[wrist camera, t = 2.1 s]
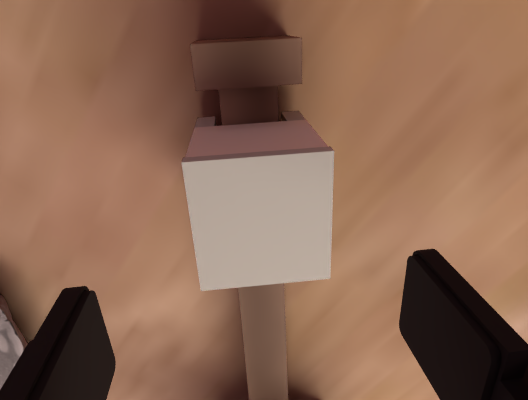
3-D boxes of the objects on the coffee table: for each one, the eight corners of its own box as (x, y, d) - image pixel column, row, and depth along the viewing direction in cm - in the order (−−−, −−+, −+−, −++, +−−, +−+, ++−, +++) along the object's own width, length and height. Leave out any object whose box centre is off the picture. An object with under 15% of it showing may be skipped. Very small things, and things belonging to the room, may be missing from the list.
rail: (287, 35, 21) (301, 37, 17) (295, 400, 34) (304, 452, 30) (197, 40, 21) (190, 44, 17) (239, 407, 33) (241, 459, 29)
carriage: (299, 109, 22) (334, 150, 15) (300, 204, 24) (330, 278, 17) (196, 116, 22) (181, 162, 14) (208, 212, 24) (200, 291, 17)
